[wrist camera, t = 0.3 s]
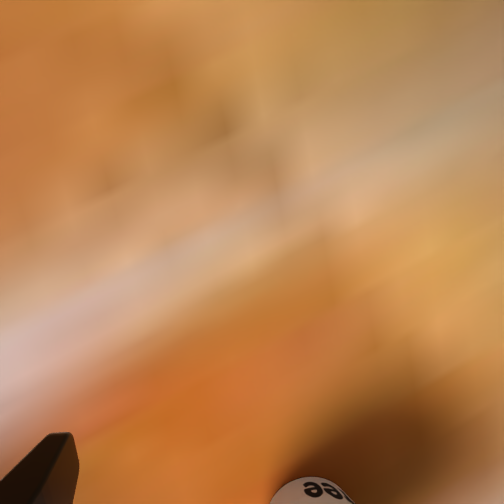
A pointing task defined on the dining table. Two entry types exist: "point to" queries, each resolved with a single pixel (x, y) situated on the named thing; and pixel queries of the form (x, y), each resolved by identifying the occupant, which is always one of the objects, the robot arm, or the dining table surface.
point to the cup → (311, 492)
